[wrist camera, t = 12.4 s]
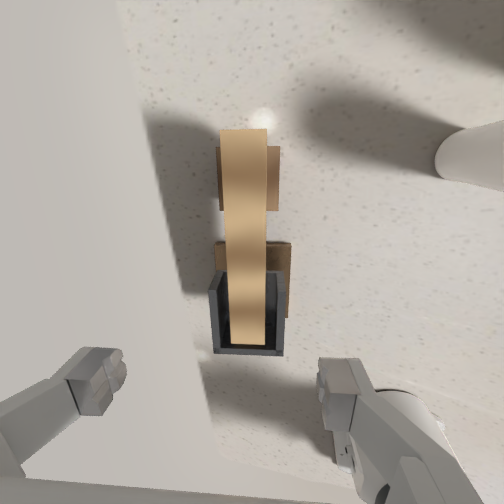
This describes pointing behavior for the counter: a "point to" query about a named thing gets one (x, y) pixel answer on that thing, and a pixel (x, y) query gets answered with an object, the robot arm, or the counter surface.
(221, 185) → the walnut block
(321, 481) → the counter surface
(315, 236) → the counter surface
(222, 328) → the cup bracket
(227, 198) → the oak rail
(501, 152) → the drinking glass
